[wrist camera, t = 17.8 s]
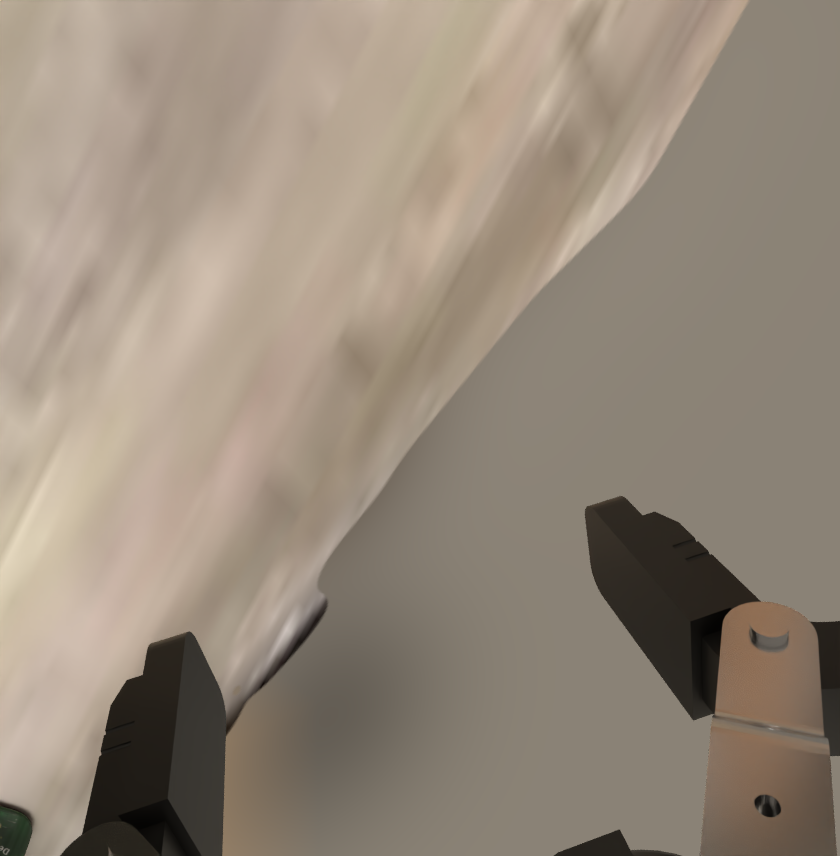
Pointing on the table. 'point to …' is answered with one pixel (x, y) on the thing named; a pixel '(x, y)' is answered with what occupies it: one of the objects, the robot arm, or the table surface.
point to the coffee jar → (14, 832)
